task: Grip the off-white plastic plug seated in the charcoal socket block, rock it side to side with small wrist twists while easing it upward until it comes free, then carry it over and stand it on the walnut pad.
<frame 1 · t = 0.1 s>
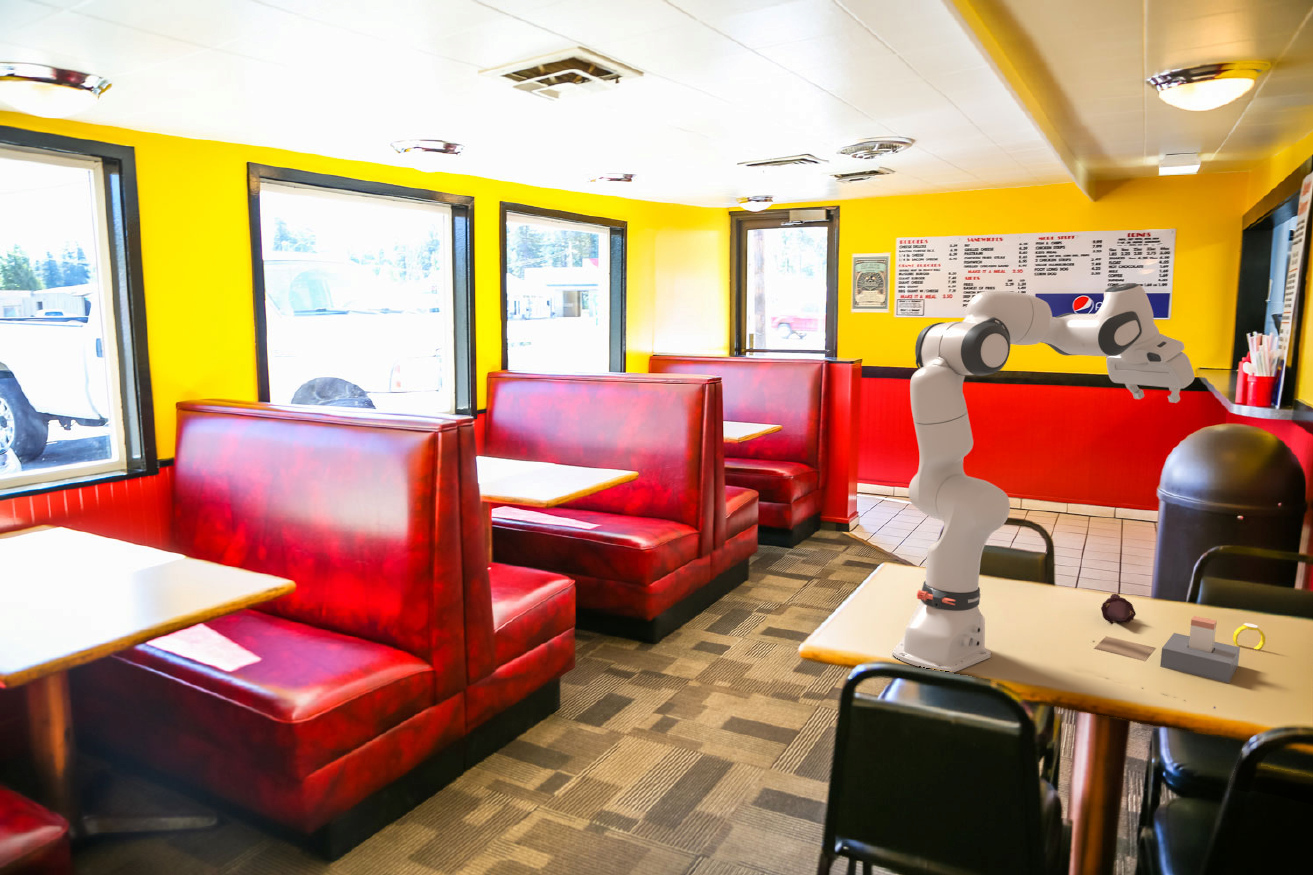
hand: (1156, 399, 199), 54 cm above the table, tool tilted 30°, fingers open, 8 cm apart
pad: (1124, 652, 185), on the table
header: (1198, 670, 176), on the table
watch: (1247, 651, 188), on the table
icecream: (1116, 624, 204), on the table
plug: (1199, 665, 176), point 1 cm above the table, touching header
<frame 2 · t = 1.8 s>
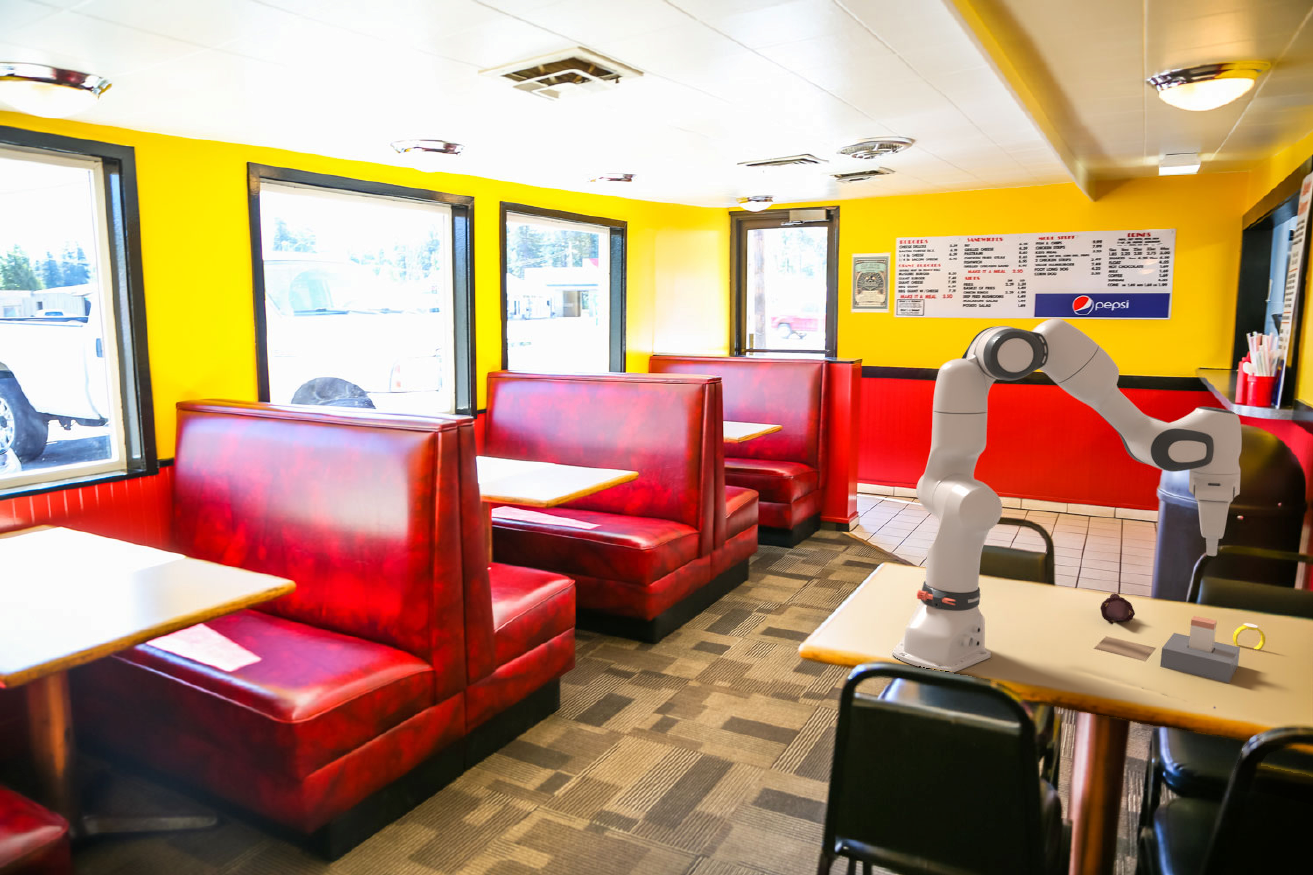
hand: (1211, 549, 177), 25 cm above the table, tool pointing down, fingers open, 8 cm apart
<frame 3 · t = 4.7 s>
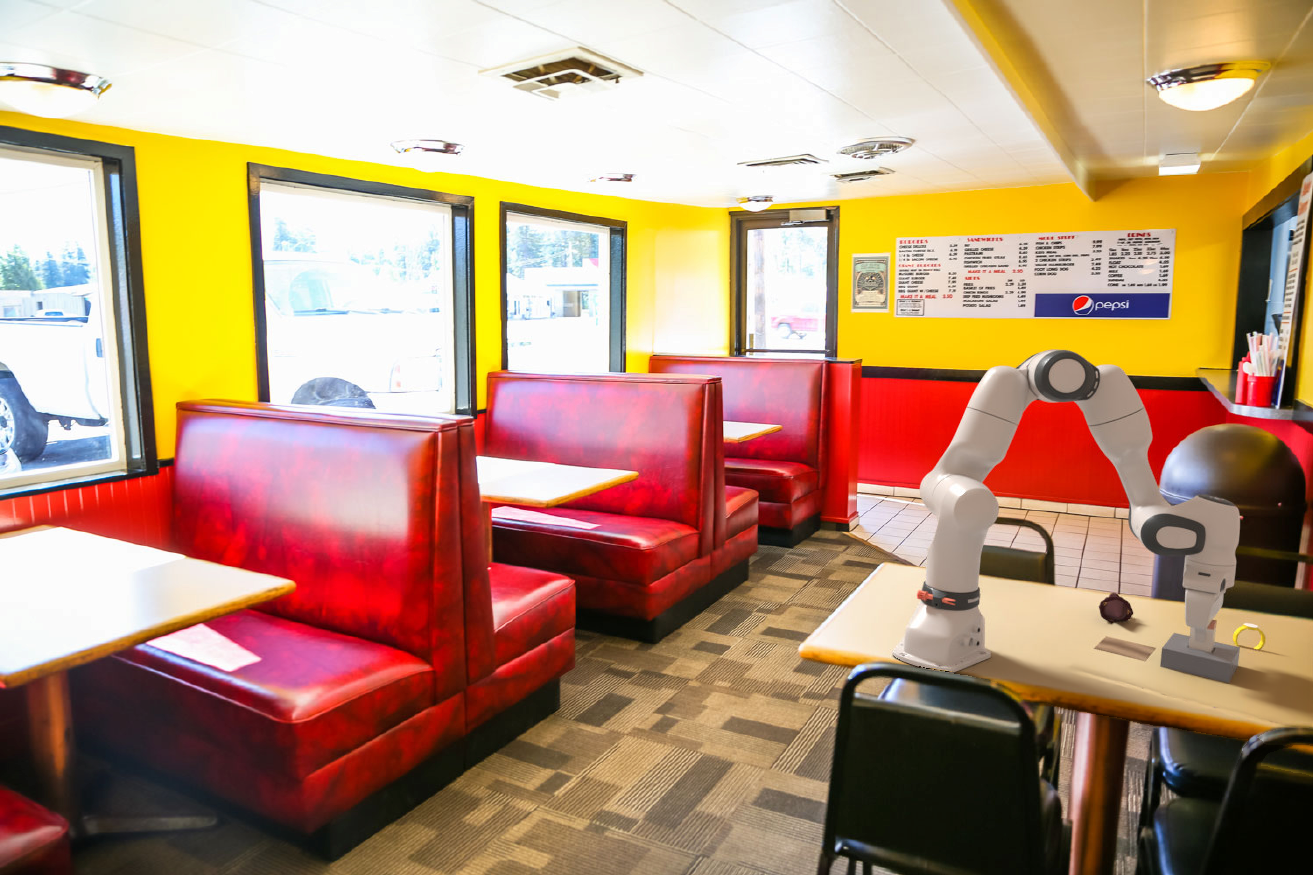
hand: (1202, 637, 175), 7 cm above the table, tool pointing down, fingers closed on plug, 3 cm apart
plug: (1199, 665, 176), point 1 cm above the table, touching gripper, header
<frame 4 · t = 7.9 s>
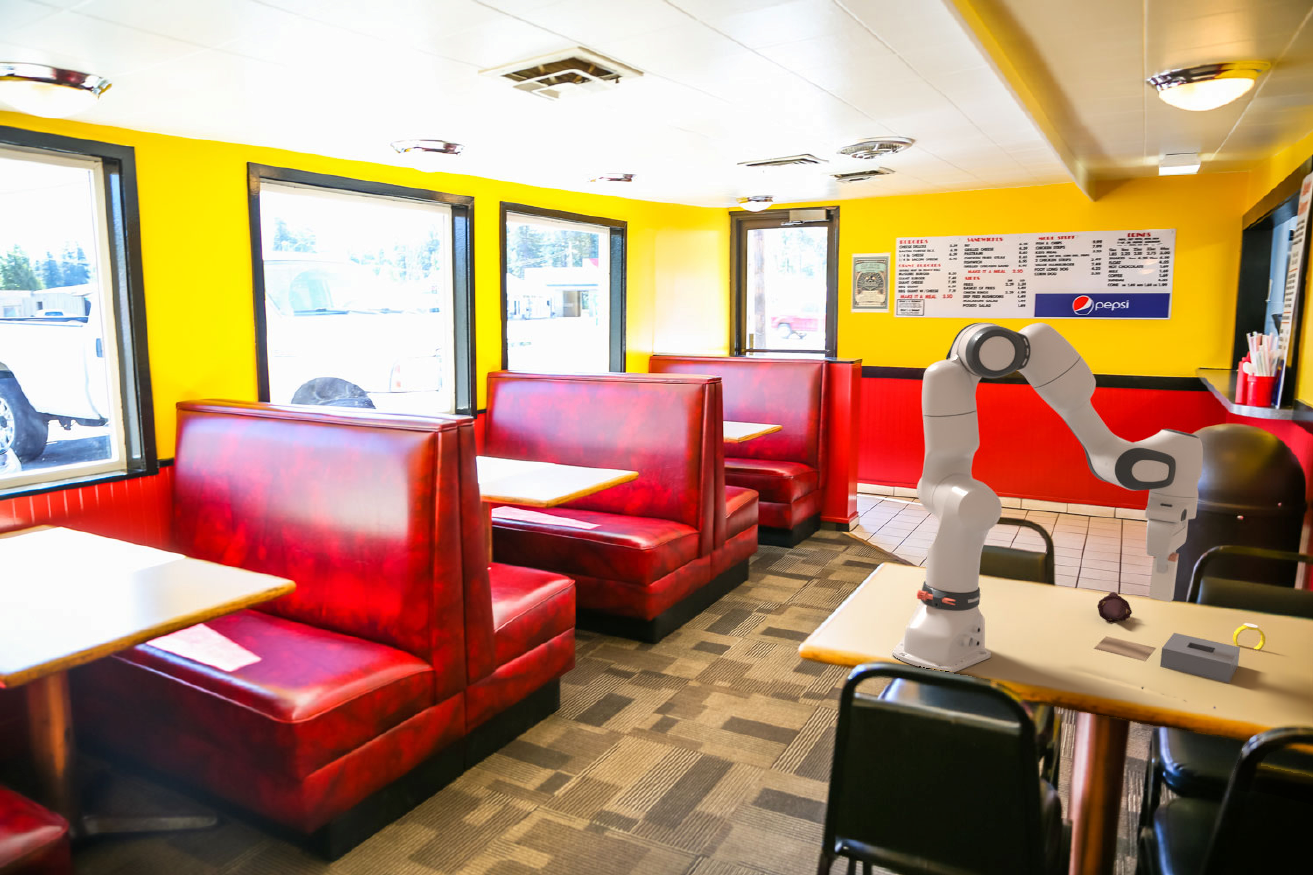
hand: (1163, 570, 178), 20 cm above the table, tool pointing down, fingers closed on plug, 3 cm apart
plug: (1160, 598, 179), point 14 cm above the table, touching gripper
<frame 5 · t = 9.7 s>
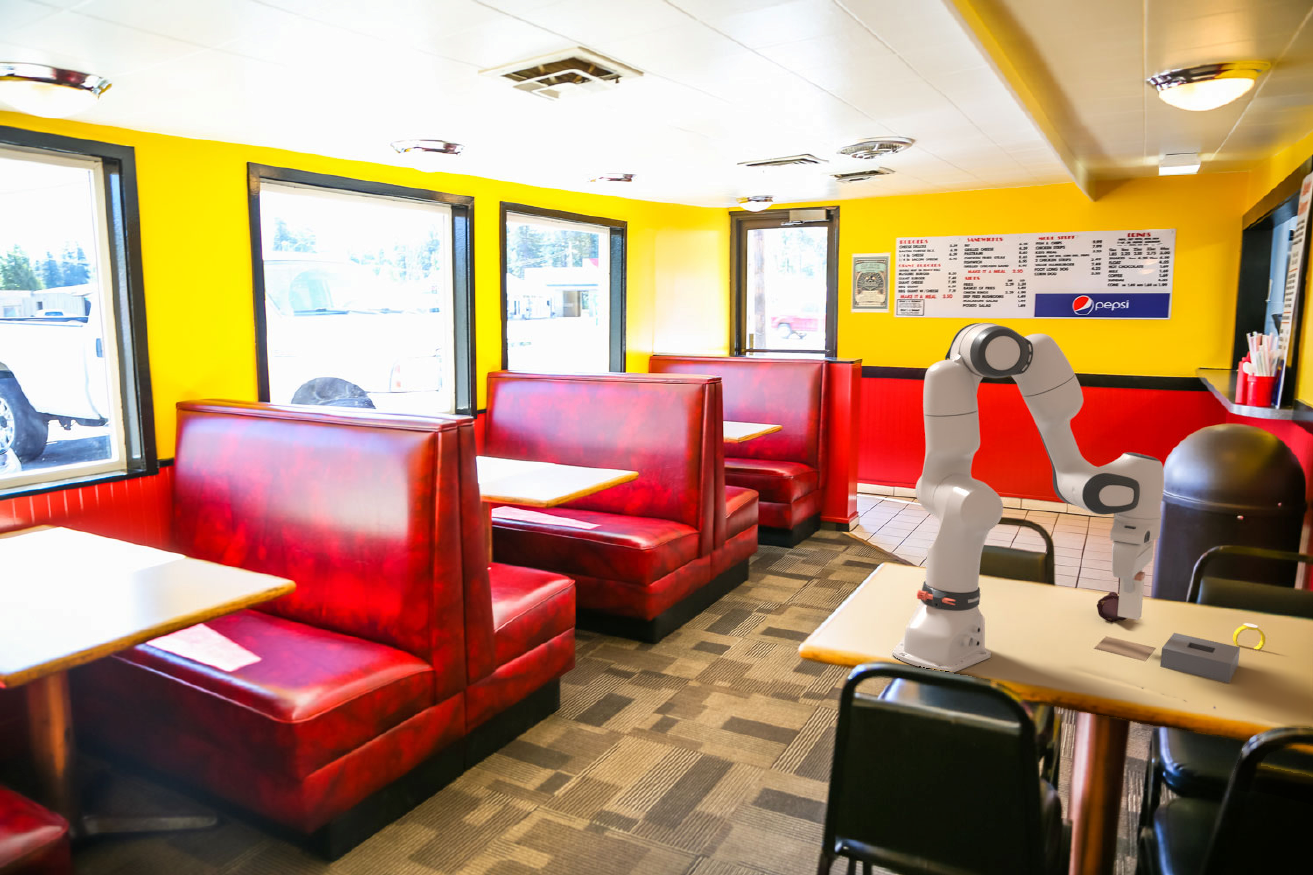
hand: (1131, 589, 183), 14 cm above the table, tool pointing down, fingers closed on plug, 3 cm apart
plug: (1129, 616, 184), point 8 cm above the table, touching gripper
when the fingers open (9 cm above the table, at t = 11.4 s): plug drops 1 cm, resting on pad.
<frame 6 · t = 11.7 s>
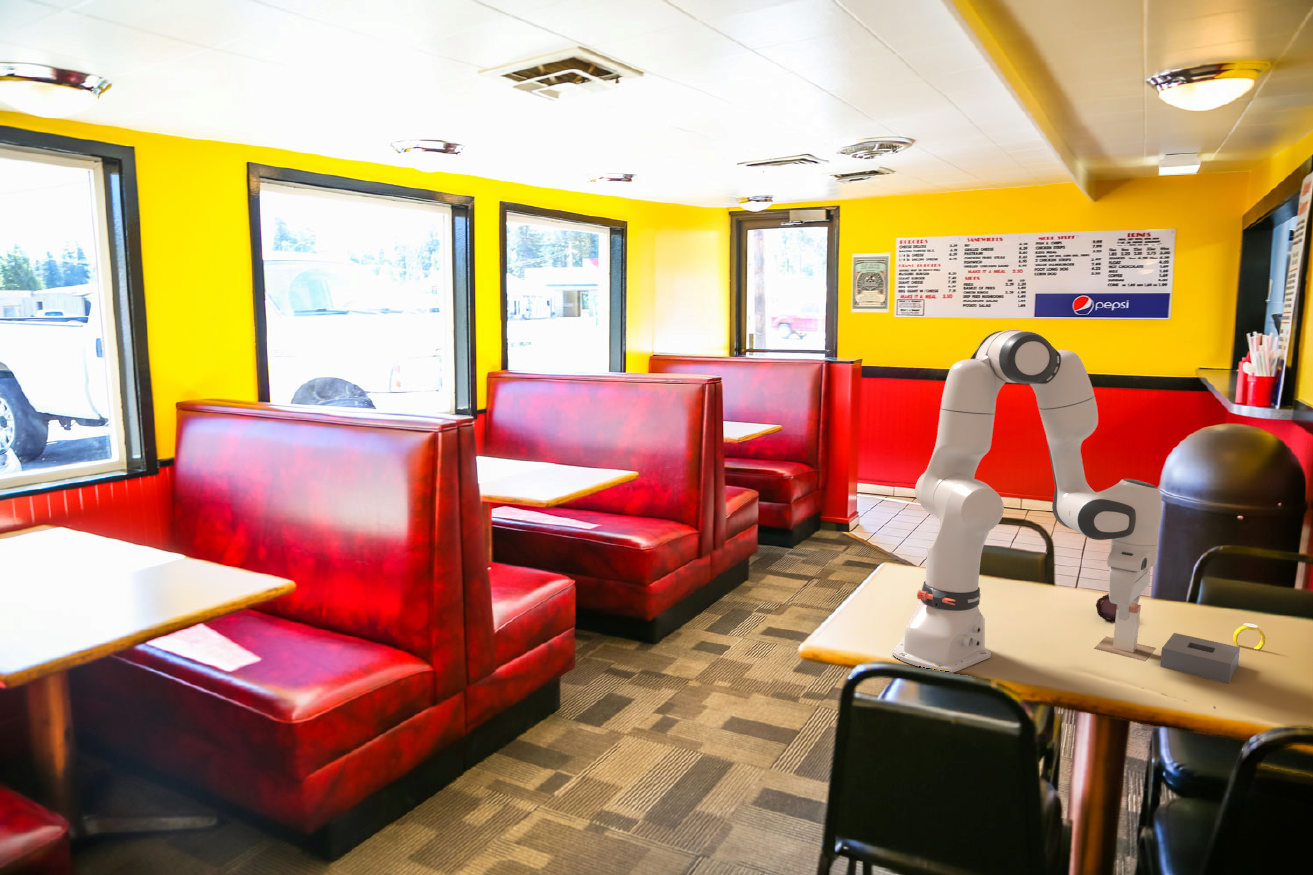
hand: (1127, 614, 184), 9 cm above the table, tool pointing down, fingers open, 6 cm apart
plug: (1124, 648, 185), point 1 cm above the table, touching pad
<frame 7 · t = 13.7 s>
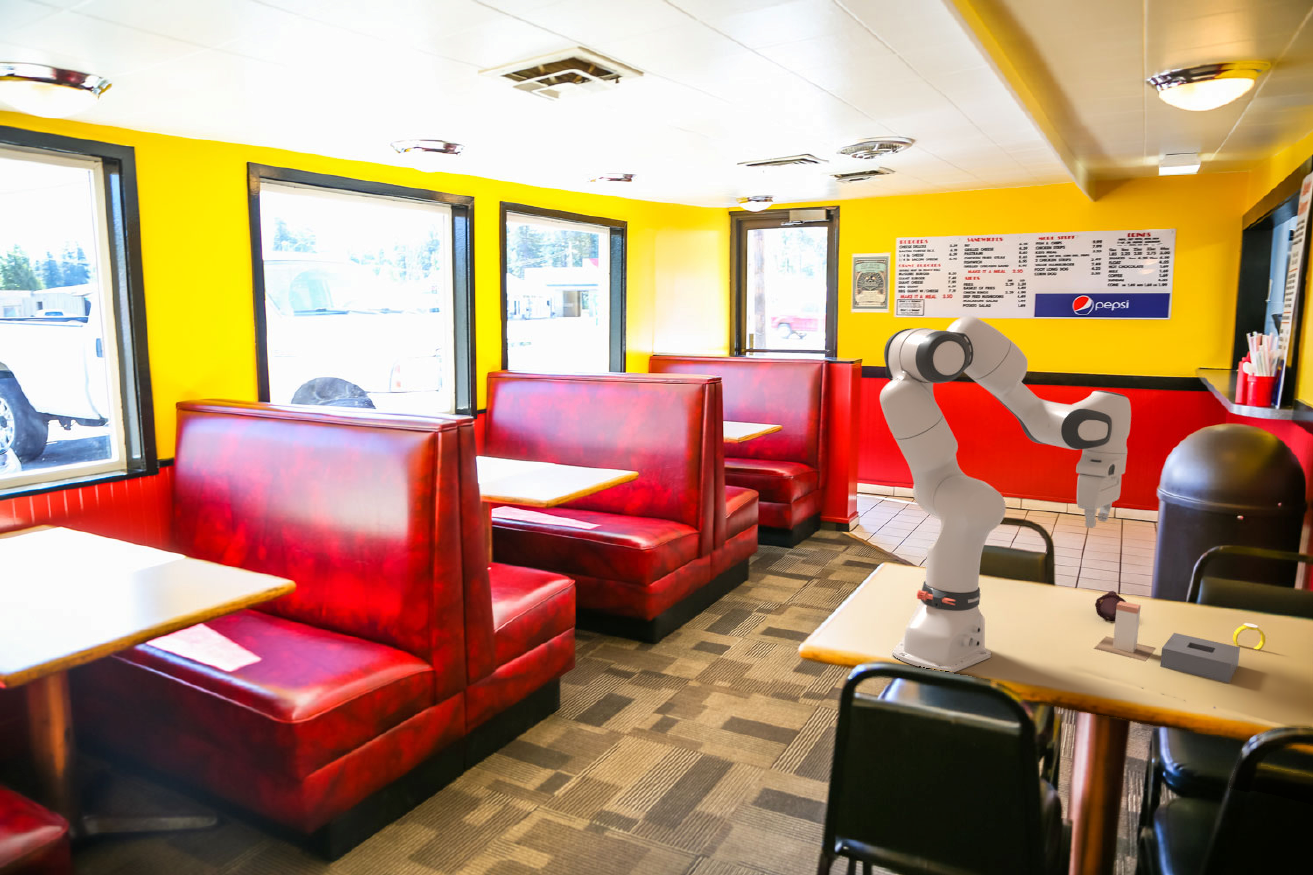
hand: (1096, 524, 190), 27 cm above the table, tool pointing down, fingers open, 8 cm apart
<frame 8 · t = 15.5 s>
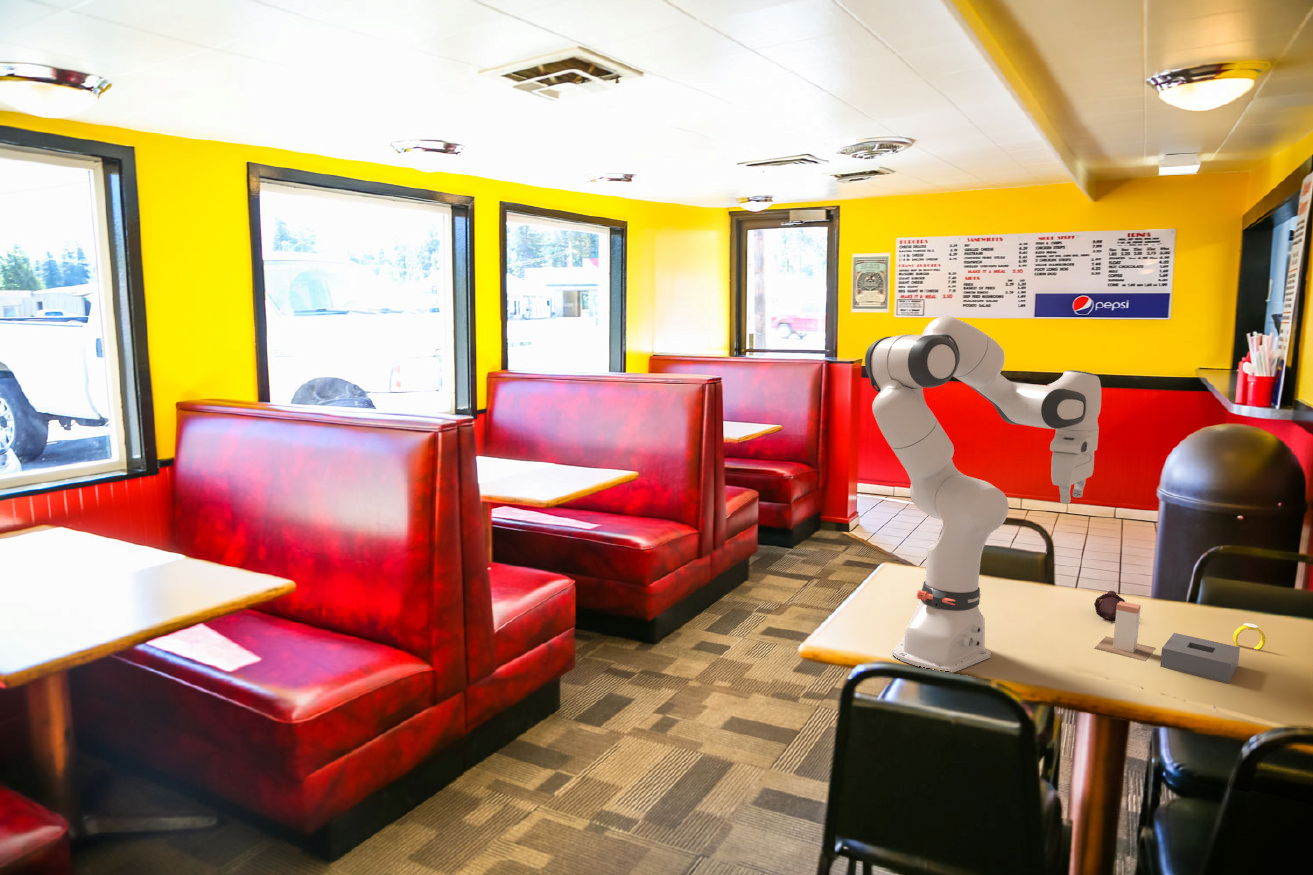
hand: (1071, 500, 196), 31 cm above the table, tool pointing down, fingers open, 8 cm apart
at the end: plug inside the target area on the pad (0.3 cm from its centre), point 1.0 cm above the pad's base; plug tilted 0°; the gripper is holding nothing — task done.
